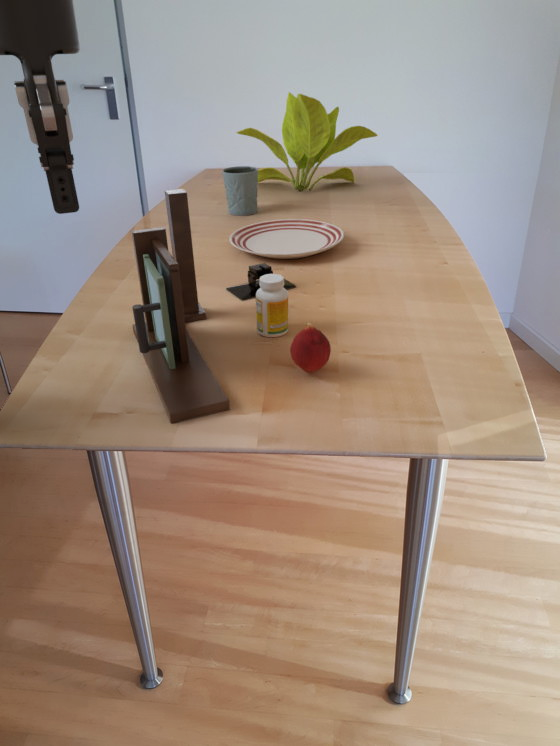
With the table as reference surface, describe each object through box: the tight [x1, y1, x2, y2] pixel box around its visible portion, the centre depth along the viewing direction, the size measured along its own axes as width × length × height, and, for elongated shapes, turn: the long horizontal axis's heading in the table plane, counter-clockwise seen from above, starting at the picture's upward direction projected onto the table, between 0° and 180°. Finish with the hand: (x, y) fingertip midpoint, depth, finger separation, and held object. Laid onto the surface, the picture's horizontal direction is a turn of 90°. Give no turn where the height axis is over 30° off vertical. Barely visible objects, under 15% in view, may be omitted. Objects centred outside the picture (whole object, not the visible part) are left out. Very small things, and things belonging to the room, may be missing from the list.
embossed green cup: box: [221, 165, 259, 217], centre depth 158 cm, size 10×10×12 cm
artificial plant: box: [236, 91, 378, 192], centre depth 181 cm, size 42×43×30 cm
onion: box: [289, 322, 332, 374], centre depth 79 cm, size 6×6×8 cm
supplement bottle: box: [255, 273, 289, 338], centre depth 91 cm, size 5×5×10 cm
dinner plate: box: [229, 218, 345, 260], centre depth 131 cm, size 27×27×3 cm
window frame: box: [130, 226, 231, 424], centre depth 79 cm, size 8×29×18 cm, turn 22°
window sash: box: [131, 254, 176, 369], centre depth 80 cm, size 4×11×14 cm, turn 22°
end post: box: [164, 188, 207, 324], centre depth 93 cm, size 5×5×22 cm
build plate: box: [225, 262, 297, 301], centre depth 109 cm, size 12×7×5 cm, turn 121°
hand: (67, 211), depth 51 cm, fingers closed
